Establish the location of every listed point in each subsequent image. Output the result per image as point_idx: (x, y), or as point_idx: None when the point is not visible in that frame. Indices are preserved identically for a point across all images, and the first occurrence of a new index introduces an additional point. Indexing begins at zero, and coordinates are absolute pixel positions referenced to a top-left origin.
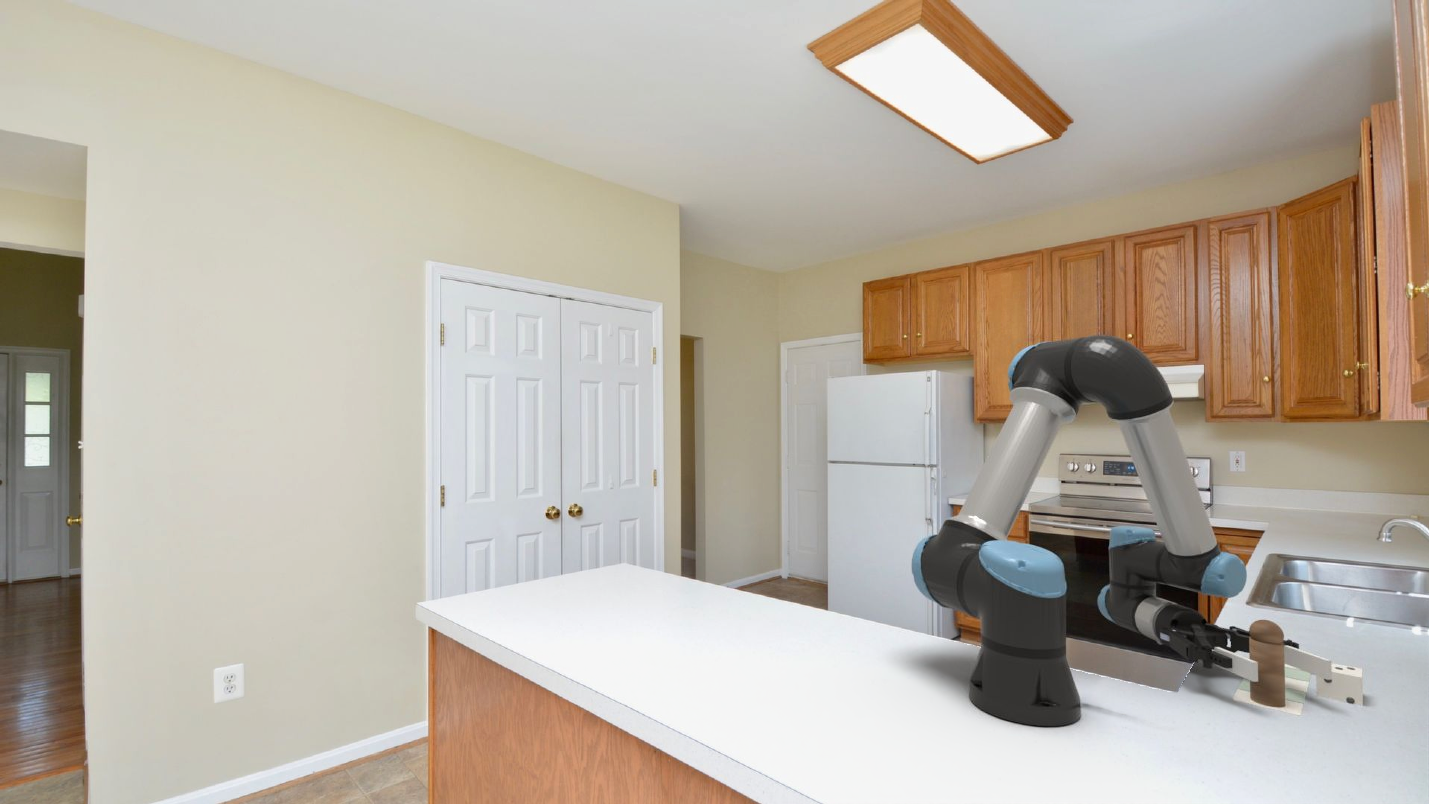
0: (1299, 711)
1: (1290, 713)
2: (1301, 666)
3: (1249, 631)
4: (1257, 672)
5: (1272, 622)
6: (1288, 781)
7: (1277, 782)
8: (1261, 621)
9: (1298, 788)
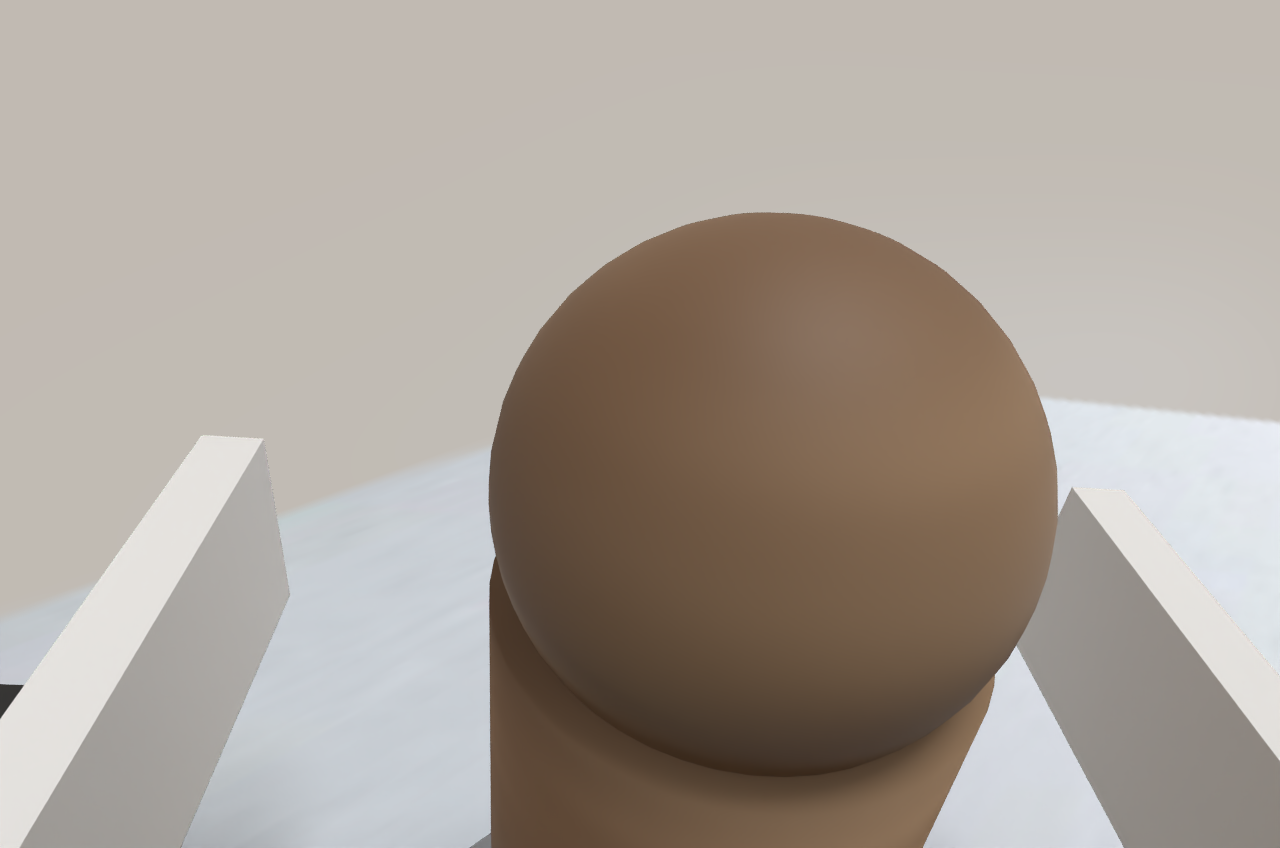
0: None
1: None
2: (171, 818)
3: (1041, 591)
4: None
5: (734, 217)
6: (1085, 437)
7: (1125, 438)
8: (926, 265)
9: (1074, 415)
